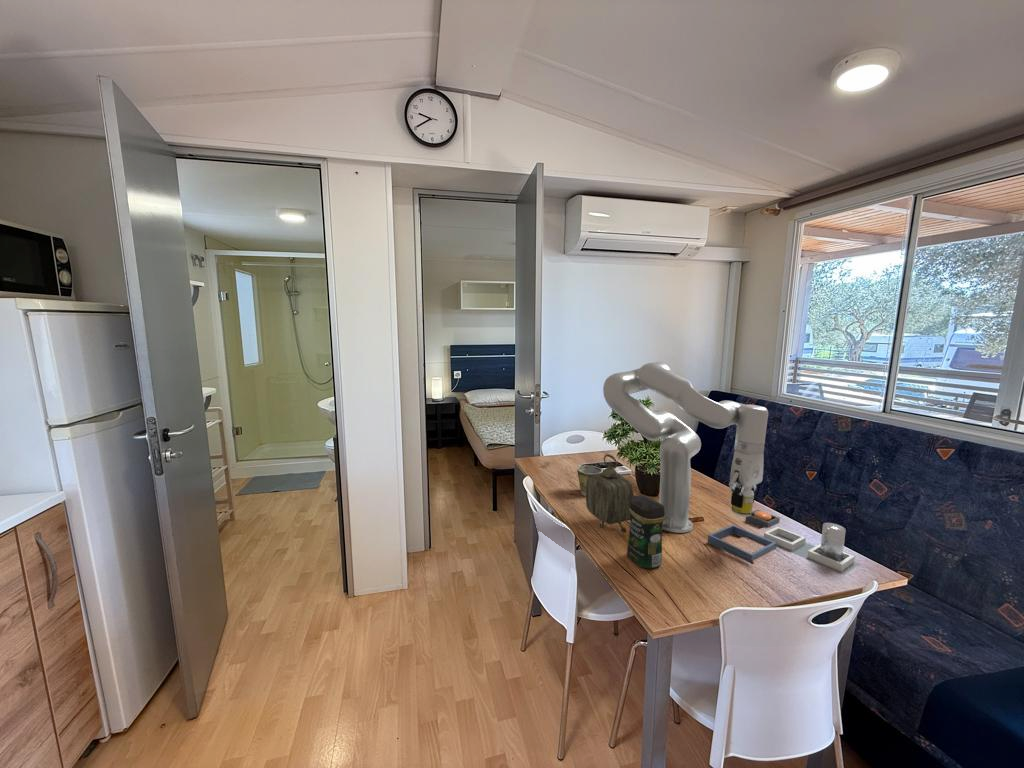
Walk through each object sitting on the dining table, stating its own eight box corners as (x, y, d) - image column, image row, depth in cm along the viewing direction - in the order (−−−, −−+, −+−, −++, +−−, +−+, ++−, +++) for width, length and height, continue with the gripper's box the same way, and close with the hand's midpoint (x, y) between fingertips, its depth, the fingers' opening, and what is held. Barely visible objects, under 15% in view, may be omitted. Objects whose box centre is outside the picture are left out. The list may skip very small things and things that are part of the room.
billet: (837, 567, 110) (841, 533, 109) (816, 558, 114) (819, 525, 113) (844, 561, 112) (848, 528, 111) (823, 553, 117) (827, 521, 115)
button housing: (767, 530, 133) (768, 523, 132) (745, 521, 139) (745, 514, 139) (779, 524, 136) (779, 517, 136) (756, 516, 143) (757, 509, 142)
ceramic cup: (588, 500, 156) (589, 475, 154) (571, 491, 164) (572, 468, 163) (611, 493, 162) (612, 469, 161) (594, 485, 171) (595, 462, 170)
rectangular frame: (751, 563, 113) (752, 555, 113) (707, 542, 124) (708, 534, 124) (775, 550, 120) (776, 543, 119) (732, 531, 131) (732, 524, 131)
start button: (766, 523, 134) (766, 518, 134) (751, 517, 138) (751, 513, 138) (774, 519, 137) (774, 515, 136) (758, 514, 141) (759, 509, 141)
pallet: (843, 577, 107) (845, 567, 106) (758, 541, 125) (759, 532, 125) (859, 566, 112) (860, 556, 111) (774, 533, 130) (775, 524, 130)
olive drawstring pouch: (631, 534, 129) (635, 460, 126) (608, 540, 125) (611, 463, 122) (604, 515, 142) (607, 448, 139) (583, 520, 139) (585, 450, 135)
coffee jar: (622, 554, 117) (625, 494, 115) (644, 549, 120) (647, 490, 118) (643, 572, 108) (646, 507, 106) (666, 567, 111) (670, 503, 109)
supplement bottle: (727, 509, 124) (730, 479, 122) (743, 508, 124) (747, 478, 123) (738, 517, 118) (742, 486, 117) (755, 517, 119) (759, 486, 117)
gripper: (745, 454, 111) (738, 515, 113) (777, 446, 119) (770, 503, 122) (720, 446, 117) (713, 504, 120) (751, 439, 126) (745, 494, 128)
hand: (742, 503), depth 121 cm, fingers closed on supplement bottle, 5 cm apart
